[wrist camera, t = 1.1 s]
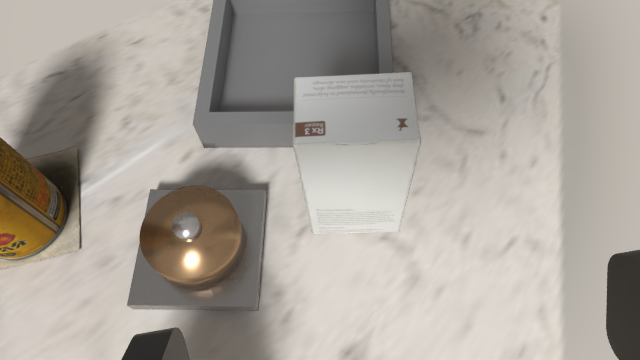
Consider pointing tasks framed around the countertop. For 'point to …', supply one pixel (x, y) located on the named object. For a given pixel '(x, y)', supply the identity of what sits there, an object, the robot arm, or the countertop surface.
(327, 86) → the skincare box
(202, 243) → the service bell
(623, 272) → the robot arm
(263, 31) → the tray
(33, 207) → the condiment
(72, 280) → the countertop surface
